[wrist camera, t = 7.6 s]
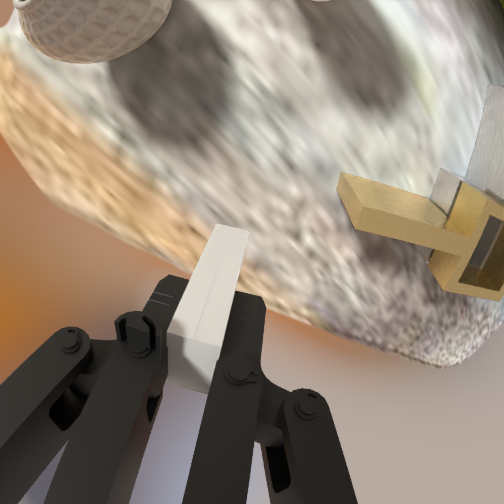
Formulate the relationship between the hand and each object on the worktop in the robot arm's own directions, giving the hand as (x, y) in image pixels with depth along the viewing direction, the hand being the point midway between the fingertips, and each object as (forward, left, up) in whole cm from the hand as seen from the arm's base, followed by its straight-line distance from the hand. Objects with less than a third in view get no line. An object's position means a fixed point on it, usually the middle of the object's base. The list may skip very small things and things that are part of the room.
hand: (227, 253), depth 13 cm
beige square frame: (0, +19, -18) cm, 27 cm away
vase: (-16, -16, -19) cm, 29 cm away
